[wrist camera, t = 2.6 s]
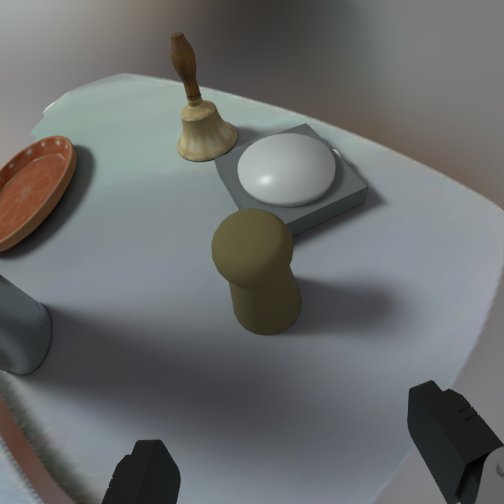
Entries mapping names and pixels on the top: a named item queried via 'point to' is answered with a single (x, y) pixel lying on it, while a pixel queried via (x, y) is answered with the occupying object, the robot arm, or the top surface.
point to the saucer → (33, 186)
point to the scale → (292, 178)
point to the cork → (258, 270)
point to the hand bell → (198, 111)
